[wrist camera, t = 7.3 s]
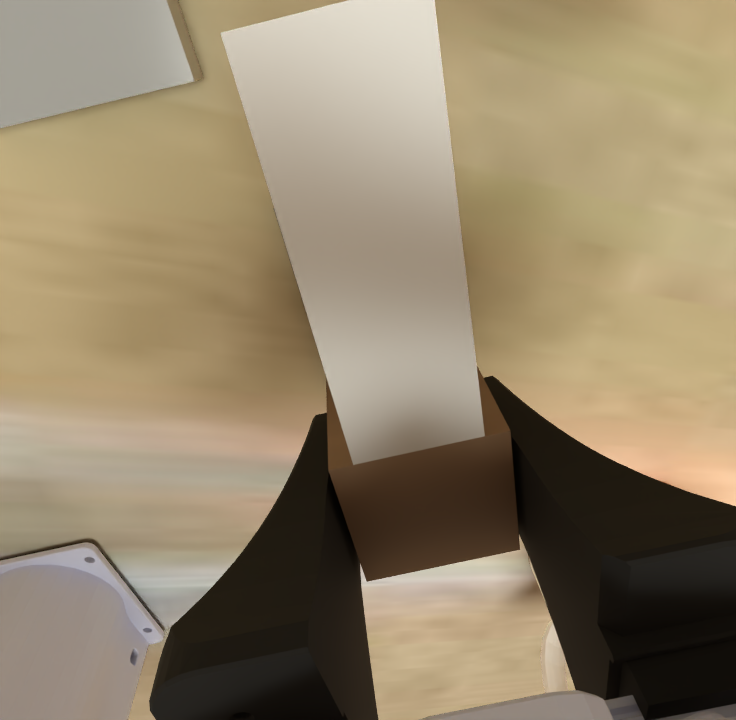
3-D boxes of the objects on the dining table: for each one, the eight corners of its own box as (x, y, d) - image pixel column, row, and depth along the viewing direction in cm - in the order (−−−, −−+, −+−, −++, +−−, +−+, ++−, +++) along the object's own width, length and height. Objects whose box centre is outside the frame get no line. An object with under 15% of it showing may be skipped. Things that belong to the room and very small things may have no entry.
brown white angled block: (458, 398, 17) (519, 549, 12) (352, 421, 17) (366, 581, 12) (401, 9, 11) (473, -32, 6) (243, 49, 11) (180, 42, 6)
